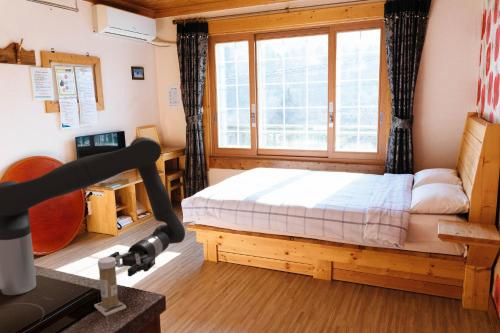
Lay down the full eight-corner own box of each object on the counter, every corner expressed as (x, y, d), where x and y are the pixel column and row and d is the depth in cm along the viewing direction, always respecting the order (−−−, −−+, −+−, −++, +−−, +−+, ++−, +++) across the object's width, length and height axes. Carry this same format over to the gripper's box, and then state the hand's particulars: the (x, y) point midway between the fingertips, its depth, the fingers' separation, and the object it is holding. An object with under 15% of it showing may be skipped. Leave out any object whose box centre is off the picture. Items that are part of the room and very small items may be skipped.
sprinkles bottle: (120, 306, 110) (117, 260, 108) (103, 310, 108) (99, 264, 105) (116, 299, 114) (112, 254, 112) (99, 303, 112) (96, 258, 109)
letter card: (94, 306, 111) (94, 304, 111) (114, 299, 115) (114, 297, 115) (105, 316, 106) (105, 314, 106) (126, 308, 110) (126, 305, 110)
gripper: (125, 237, 129) (93, 256, 114) (165, 241, 125) (137, 261, 110) (127, 259, 130) (95, 280, 115) (166, 263, 126) (138, 287, 111)
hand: (115, 271), depth 112 cm, fingers open, 8 cm apart
